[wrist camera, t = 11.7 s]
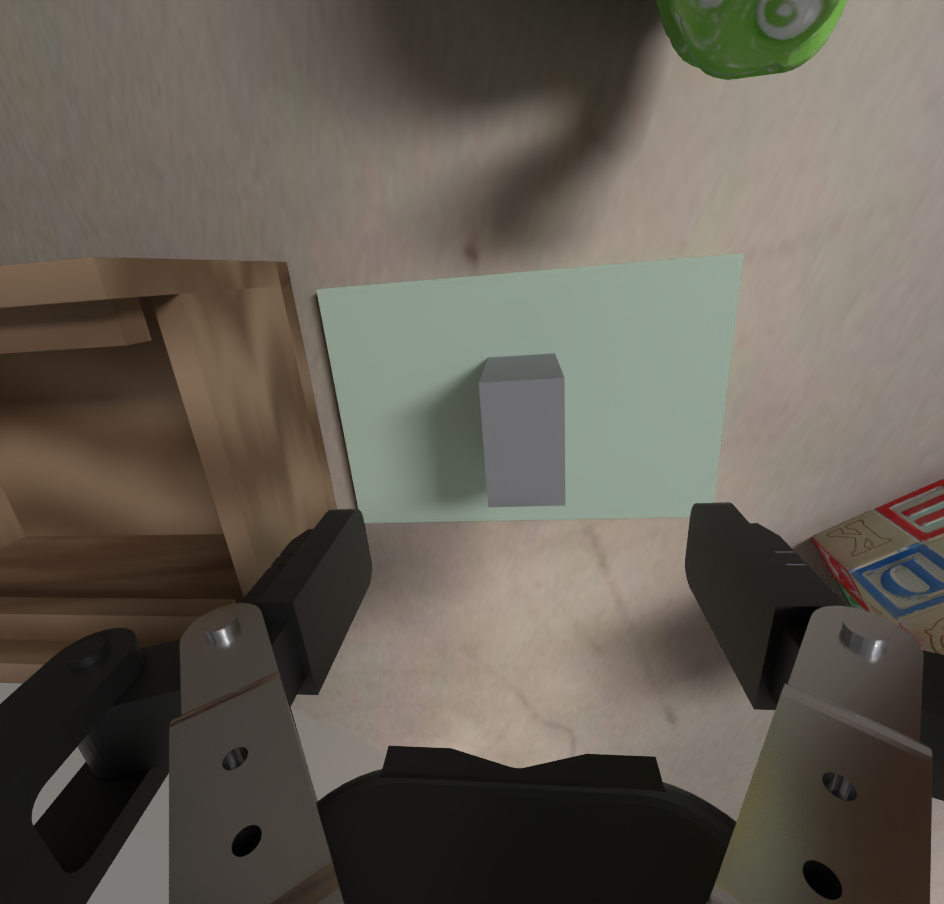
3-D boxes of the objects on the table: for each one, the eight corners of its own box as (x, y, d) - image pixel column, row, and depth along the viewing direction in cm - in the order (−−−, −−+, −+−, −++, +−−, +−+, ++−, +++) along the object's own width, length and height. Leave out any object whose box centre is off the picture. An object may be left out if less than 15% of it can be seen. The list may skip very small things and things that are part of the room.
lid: (326, 288, 22) (256, 295, 16) (731, 253, 20) (818, 248, 14) (367, 512, 26) (324, 581, 20) (703, 505, 24) (759, 579, 18)
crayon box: (-86, 294, 23) (-495, 312, 14) (286, 261, 21) (92, 257, 12) (34, 541, 29) (-205, 675, 19) (342, 539, 26) (241, 690, 17)
